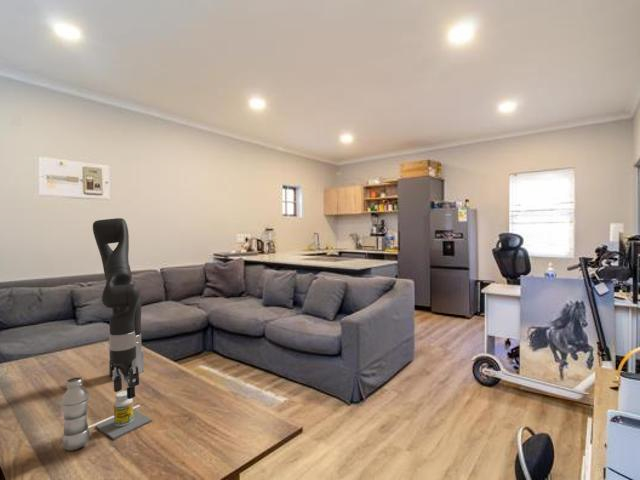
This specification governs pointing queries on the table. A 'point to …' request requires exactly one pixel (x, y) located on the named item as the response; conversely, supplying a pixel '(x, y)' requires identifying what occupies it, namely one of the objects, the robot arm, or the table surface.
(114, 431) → the mat
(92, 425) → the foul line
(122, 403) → the supplement bottle
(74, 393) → the plastic bottle
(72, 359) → the table surface
